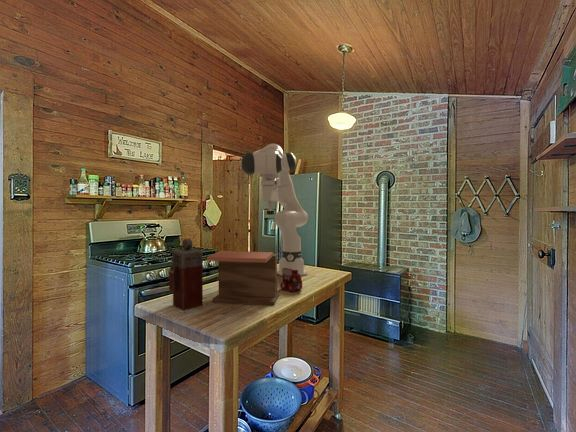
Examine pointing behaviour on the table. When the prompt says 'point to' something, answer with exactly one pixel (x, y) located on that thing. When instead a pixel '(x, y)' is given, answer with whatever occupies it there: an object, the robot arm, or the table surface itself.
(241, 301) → the wooden box
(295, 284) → the dark red lumpy cluster
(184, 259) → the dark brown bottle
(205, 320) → the table surface
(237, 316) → the table surface
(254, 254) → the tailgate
